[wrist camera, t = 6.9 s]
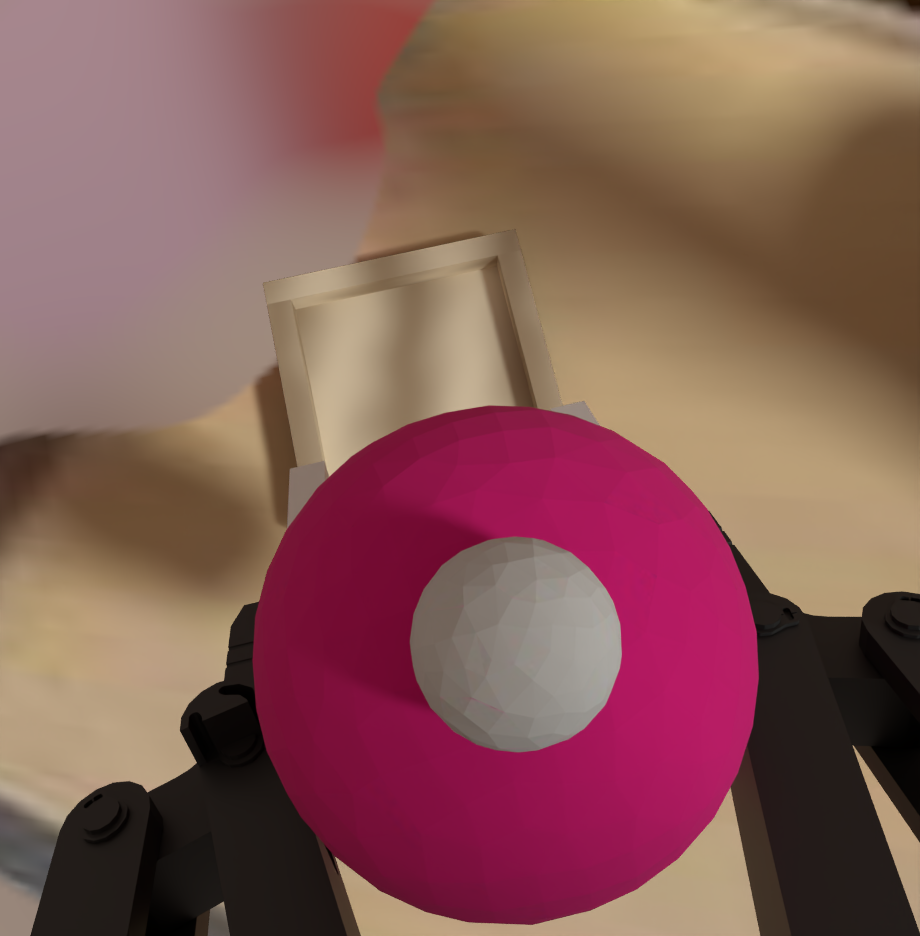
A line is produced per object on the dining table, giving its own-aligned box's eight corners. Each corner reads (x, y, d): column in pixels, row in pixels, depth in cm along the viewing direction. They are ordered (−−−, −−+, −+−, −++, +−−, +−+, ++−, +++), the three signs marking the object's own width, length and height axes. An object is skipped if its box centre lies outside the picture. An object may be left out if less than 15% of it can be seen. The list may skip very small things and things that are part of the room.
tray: (512, 250, 44) (515, 229, 42) (574, 482, 41) (580, 472, 39) (273, 301, 43) (262, 282, 41) (318, 540, 40) (310, 534, 38)
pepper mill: (559, 515, 27) (801, 109, 7) (631, 740, 25) (1202, 1022, 5) (343, 576, 26) (-31, 328, 7) (401, 809, 25) (130, 1373, 5)
